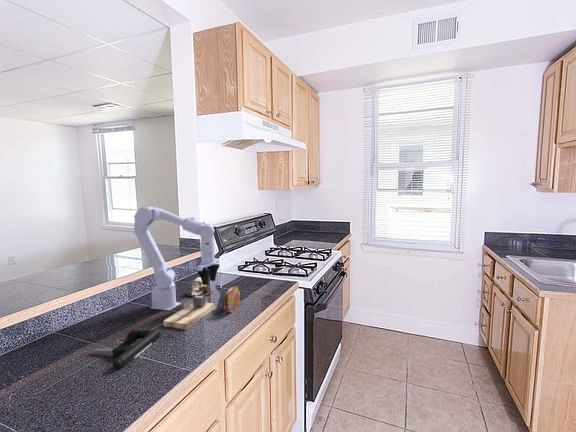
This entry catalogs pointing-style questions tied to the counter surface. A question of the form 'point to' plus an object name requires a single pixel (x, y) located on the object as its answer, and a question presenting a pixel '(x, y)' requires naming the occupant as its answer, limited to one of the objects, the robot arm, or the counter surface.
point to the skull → (198, 288)
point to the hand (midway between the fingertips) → (209, 282)
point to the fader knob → (199, 301)
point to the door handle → (129, 347)
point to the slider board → (188, 316)
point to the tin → (231, 299)
